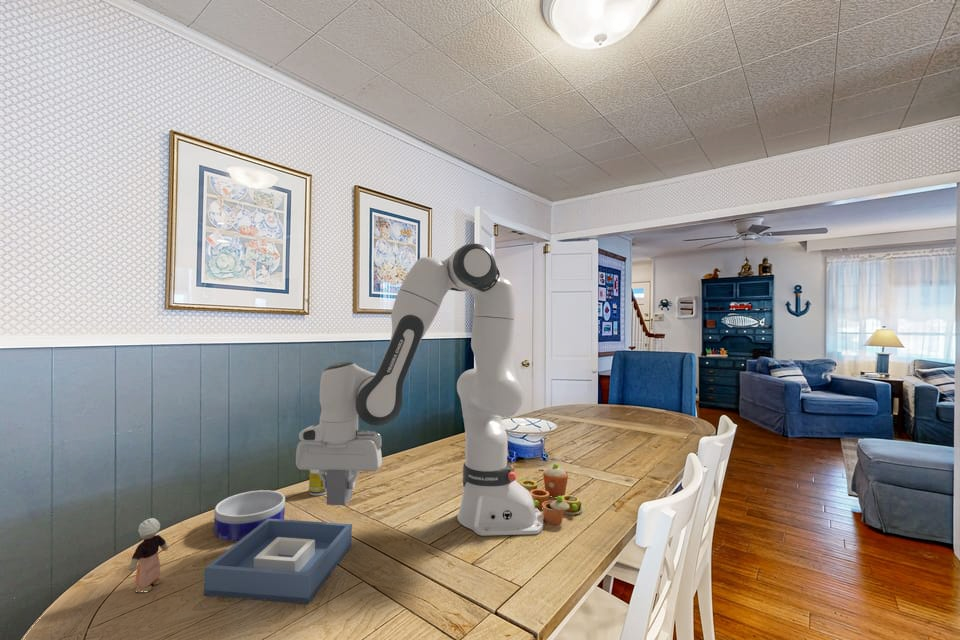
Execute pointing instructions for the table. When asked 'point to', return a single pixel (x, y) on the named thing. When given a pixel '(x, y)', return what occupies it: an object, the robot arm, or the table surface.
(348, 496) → the connector plug
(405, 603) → the table surface
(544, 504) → the toy tea set
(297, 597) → the walled tray
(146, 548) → the grandmother figurine
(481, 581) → the table surface
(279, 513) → the dog bowl
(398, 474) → the table surface
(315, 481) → the supplement bottle
